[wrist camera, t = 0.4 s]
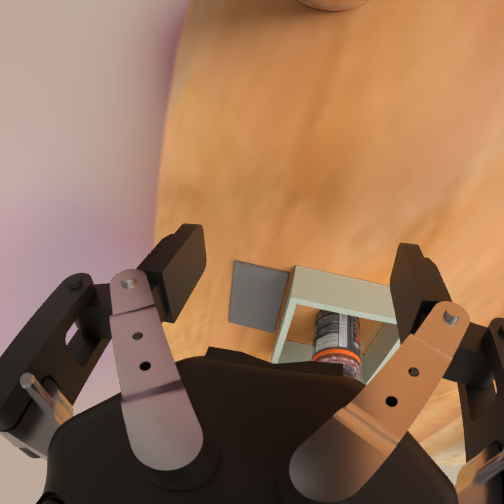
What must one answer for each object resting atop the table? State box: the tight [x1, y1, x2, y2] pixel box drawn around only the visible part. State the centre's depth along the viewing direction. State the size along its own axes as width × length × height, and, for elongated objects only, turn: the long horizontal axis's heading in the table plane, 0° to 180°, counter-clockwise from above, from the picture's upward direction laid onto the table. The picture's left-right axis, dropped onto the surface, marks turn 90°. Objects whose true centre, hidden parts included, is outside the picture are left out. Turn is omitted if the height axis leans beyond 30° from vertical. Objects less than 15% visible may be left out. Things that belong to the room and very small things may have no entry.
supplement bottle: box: [311, 310, 361, 378], centre depth 35 cm, size 6×6×11 cm
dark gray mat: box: [229, 260, 289, 333], centre depth 41 cm, size 11×7×1 cm, turn 173°
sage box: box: [271, 265, 400, 385], centre depth 38 cm, size 15×15×6 cm
